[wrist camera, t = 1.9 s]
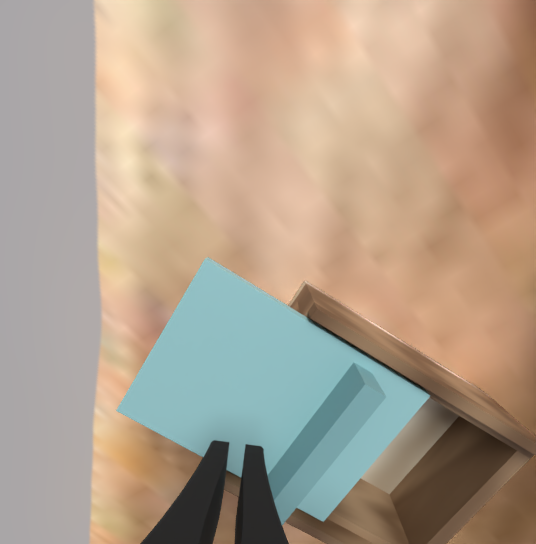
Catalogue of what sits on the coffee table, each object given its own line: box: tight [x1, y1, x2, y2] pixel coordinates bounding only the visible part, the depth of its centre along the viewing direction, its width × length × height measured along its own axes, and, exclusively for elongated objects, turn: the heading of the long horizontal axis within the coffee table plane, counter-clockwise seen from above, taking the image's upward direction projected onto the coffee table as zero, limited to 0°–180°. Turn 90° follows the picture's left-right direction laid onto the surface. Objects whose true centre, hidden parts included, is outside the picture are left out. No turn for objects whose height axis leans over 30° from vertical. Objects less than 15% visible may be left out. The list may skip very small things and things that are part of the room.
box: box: [224, 281, 536, 544], centre depth 19 cm, size 16×12×6 cm
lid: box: [116, 257, 430, 525], centre depth 15 cm, size 14×10×3 cm
